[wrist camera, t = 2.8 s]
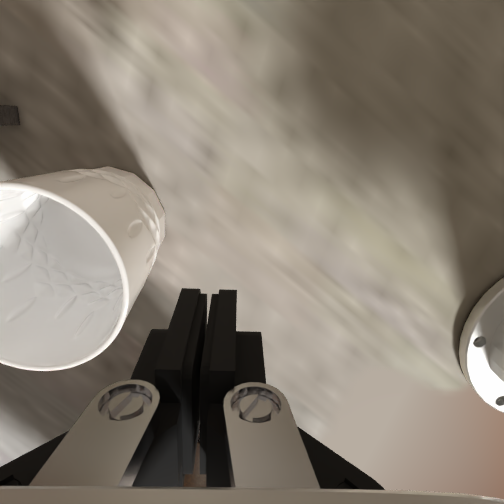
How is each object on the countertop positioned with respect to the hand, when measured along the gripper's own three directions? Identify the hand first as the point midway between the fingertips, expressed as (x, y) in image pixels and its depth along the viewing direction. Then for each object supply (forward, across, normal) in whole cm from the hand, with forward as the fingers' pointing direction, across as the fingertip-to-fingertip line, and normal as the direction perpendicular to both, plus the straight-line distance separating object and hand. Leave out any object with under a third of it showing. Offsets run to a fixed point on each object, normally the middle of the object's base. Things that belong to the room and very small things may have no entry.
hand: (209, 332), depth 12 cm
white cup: (+14, +7, 0) cm, 15 cm away
